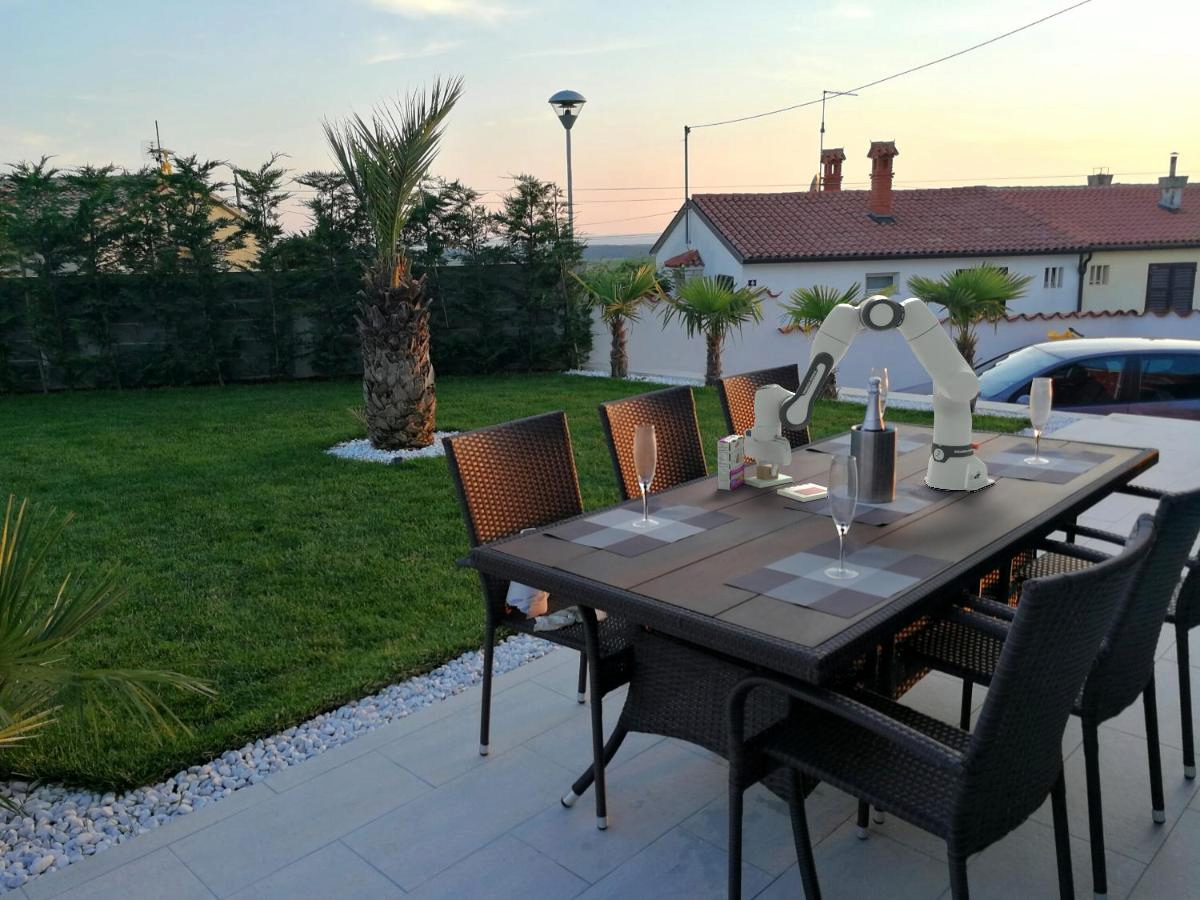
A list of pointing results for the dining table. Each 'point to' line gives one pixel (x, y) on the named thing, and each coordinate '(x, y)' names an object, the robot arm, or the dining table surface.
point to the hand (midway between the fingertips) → (767, 473)
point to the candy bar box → (730, 462)
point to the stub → (767, 478)
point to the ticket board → (804, 492)
